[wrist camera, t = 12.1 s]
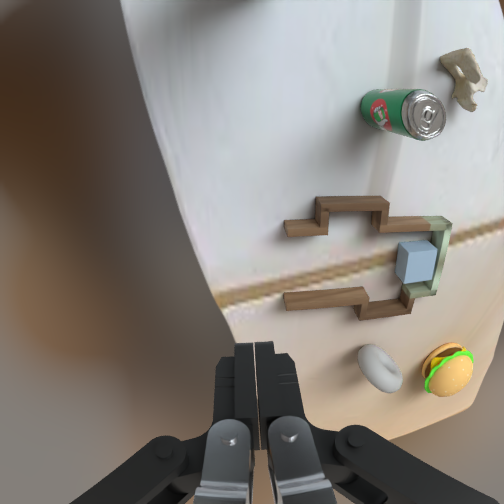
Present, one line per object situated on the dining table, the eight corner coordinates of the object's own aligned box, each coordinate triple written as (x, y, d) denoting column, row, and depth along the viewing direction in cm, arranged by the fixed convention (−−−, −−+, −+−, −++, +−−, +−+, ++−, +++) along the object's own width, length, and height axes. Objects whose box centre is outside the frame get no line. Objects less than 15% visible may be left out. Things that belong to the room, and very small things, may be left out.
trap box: (284, 197, 39) (287, 205, 37) (444, 196, 40) (455, 203, 37) (283, 314, 47) (286, 327, 45) (423, 300, 48) (430, 310, 45)
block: (398, 241, 43) (408, 252, 40) (426, 239, 43) (437, 249, 40) (394, 271, 45) (403, 283, 42) (421, 268, 45) (431, 279, 42)
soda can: (399, 99, 34) (454, 104, 23) (387, 134, 36) (439, 150, 25) (366, 83, 33) (415, 79, 22) (353, 119, 35) (398, 128, 24)
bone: (489, 108, 32) (506, 114, 25) (451, 111, 36) (459, 117, 28) (476, 52, 29) (490, 44, 22) (437, 55, 33) (441, 46, 25)
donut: (393, 351, 53) (413, 390, 44) (380, 363, 54) (398, 403, 45) (361, 331, 50) (380, 374, 41) (346, 344, 51) (363, 388, 42)
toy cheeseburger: (421, 346, 53) (439, 378, 45) (468, 330, 53) (489, 357, 45) (412, 384, 58) (426, 414, 51) (456, 368, 58) (472, 394, 50)
